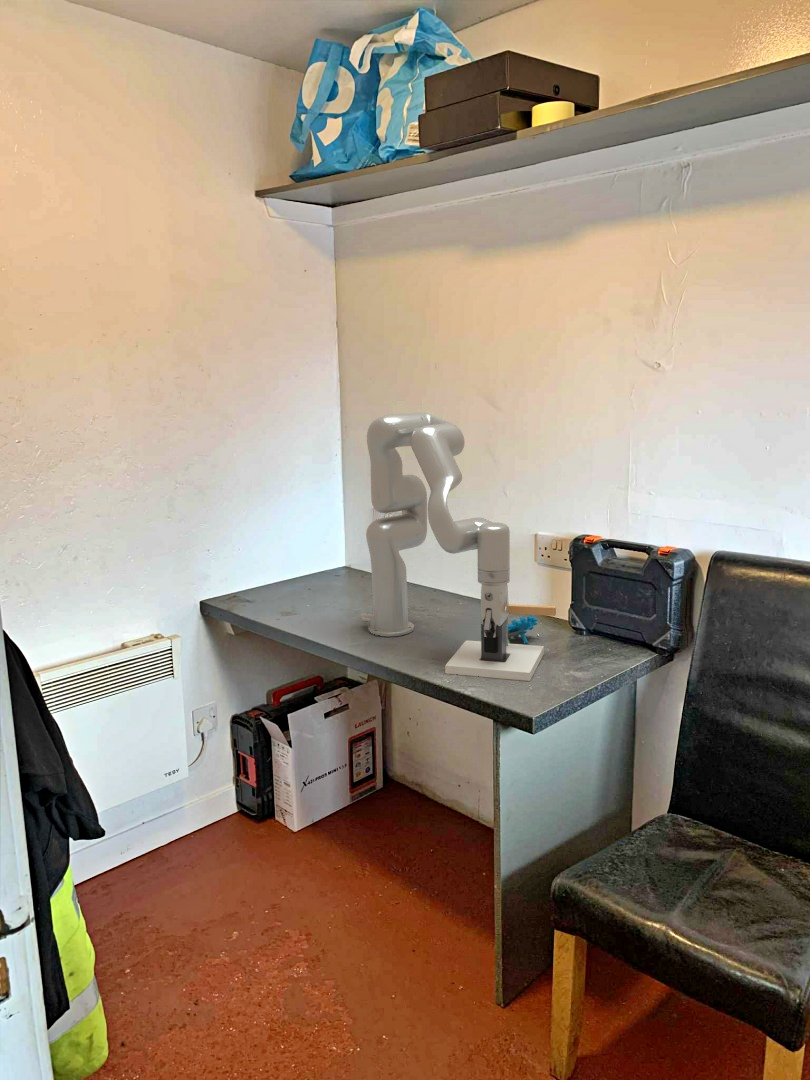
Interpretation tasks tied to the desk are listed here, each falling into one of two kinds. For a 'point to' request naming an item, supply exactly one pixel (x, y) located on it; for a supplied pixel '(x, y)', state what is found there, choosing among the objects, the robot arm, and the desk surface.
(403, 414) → the robot arm
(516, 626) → the blue spiky figurine
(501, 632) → the plug
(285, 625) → the desk surface
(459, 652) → the socket block
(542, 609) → the clip
